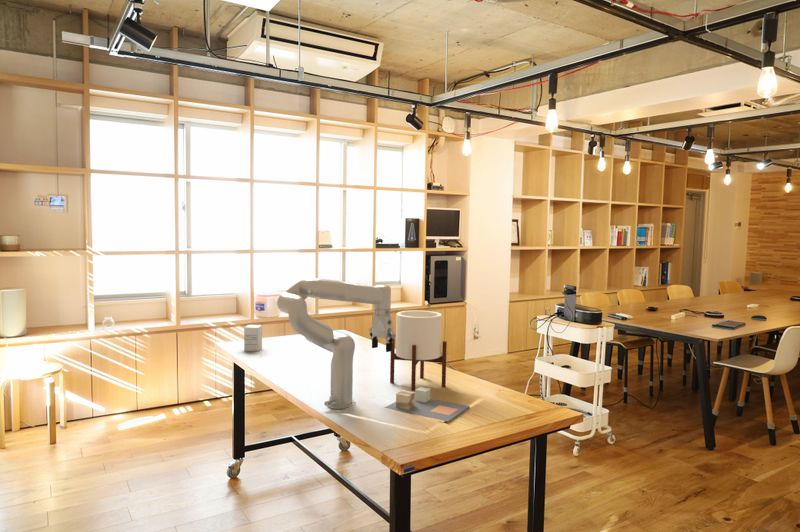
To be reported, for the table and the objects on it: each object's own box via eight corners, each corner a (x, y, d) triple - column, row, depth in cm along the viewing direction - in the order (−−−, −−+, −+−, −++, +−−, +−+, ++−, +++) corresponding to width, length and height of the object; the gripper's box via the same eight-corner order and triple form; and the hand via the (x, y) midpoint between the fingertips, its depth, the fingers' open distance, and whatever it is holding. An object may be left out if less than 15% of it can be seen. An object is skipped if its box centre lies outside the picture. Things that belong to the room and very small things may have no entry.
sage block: (425, 402, 241) (425, 391, 241) (415, 400, 243) (415, 389, 243) (430, 399, 245) (430, 388, 245) (420, 397, 248) (420, 386, 247)
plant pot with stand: (412, 394, 256) (413, 318, 254) (386, 382, 275) (387, 312, 272) (449, 387, 269) (451, 315, 266) (422, 376, 287) (424, 309, 285)
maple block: (408, 409, 231) (408, 396, 230) (395, 407, 234) (396, 393, 233) (414, 406, 236) (415, 392, 236) (402, 403, 239) (403, 390, 239)
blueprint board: (447, 423, 218) (447, 421, 218) (384, 409, 233) (384, 407, 233) (469, 408, 237) (469, 406, 237) (409, 396, 252) (409, 394, 252)
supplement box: (248, 347, 347) (248, 324, 346) (262, 348, 347) (262, 324, 346) (243, 351, 338) (243, 327, 337) (258, 351, 338) (258, 327, 337)
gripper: (401, 314, 244) (400, 351, 245) (376, 309, 256) (375, 345, 258) (388, 315, 239) (388, 354, 240) (363, 310, 251) (363, 347, 252)
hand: (381, 349), depth 249 cm, fingers open, 9 cm apart
